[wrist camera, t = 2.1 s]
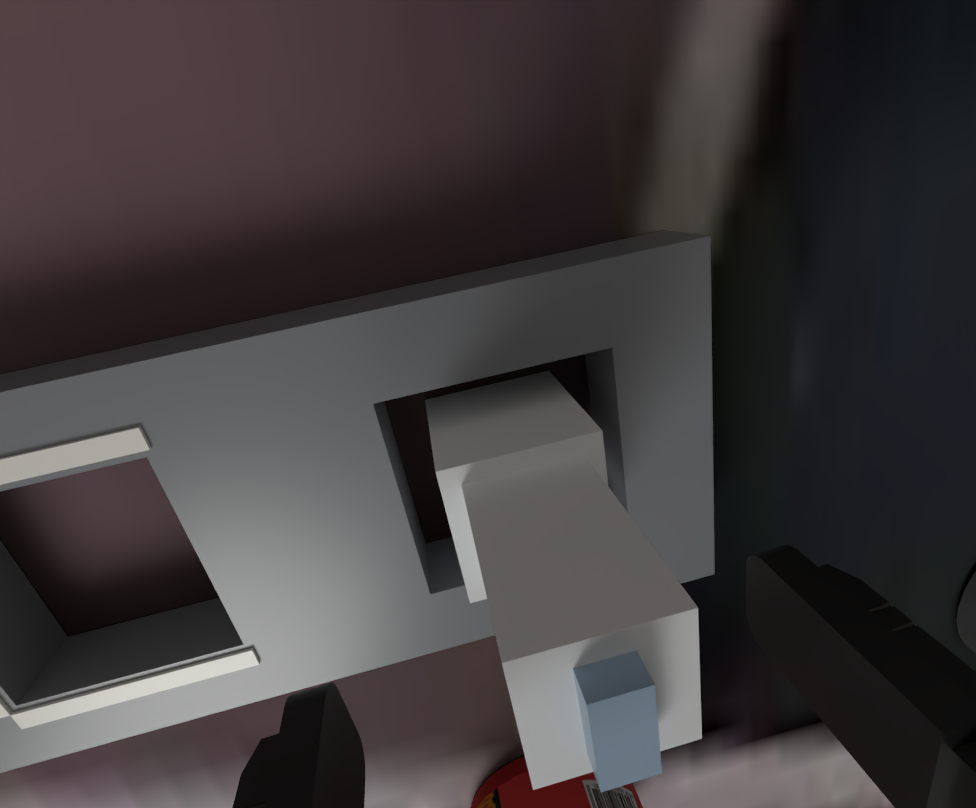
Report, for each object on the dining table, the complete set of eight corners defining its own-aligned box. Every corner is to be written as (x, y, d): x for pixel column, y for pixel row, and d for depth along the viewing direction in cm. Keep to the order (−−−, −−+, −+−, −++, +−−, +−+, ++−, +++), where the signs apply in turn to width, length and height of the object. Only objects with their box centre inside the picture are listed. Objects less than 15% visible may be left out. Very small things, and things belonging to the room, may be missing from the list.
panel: (662, 230, 15) (712, 235, 13) (677, 530, 19) (716, 576, 17) (-216, 421, 13) (-351, 470, 11) (16, 707, 17) (-43, 787, 15)
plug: (548, 370, 16) (756, 602, 7) (564, 477, 18) (750, 784, 8) (425, 399, 16) (466, 685, 7) (452, 506, 17) (516, 858, 8)
